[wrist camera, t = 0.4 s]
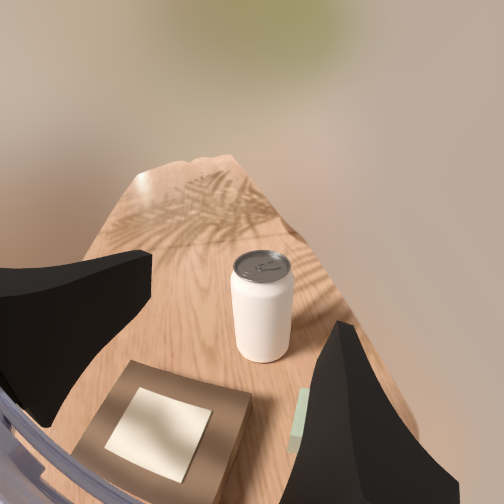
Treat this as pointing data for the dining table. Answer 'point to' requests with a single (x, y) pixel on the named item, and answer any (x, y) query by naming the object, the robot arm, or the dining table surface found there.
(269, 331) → the can
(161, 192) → the dining table surface
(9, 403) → the robot arm
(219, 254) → the dining table surface
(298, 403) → the cube
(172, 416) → the base
